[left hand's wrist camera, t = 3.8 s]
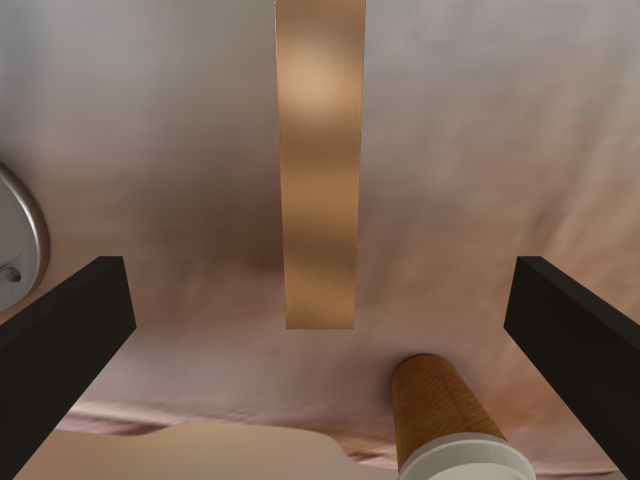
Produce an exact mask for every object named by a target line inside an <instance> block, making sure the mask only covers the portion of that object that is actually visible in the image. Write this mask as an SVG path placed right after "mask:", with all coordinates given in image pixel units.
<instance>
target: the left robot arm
mask: <svg viewBox="0 0 640 480" xmlns="http://www.w3.org/2000/svg"><path fill="white" fill-rule="evenodd" d="M48 260H49V239H48V233H47V228H46V225H45V222H44V219H43V216H42V214H41V212H40V209H39V207H38V206H37V204H36V202H35V200H34V199H33V197H32V196H31V194H30V192H29V191H28V190H27V188H26V187H25V186H24V185H23V183H22V182H21V181H20V180H19V179H18V178H17V177H16V175H15V174H14V173H13V172H12V171H10V170H9V169H8V168H7V167H6V166H5V165H4V164H3V163H1V162H0V312H3V311H5V310H7V309H9V308H10V307H12V306H13V305H15V304H16V303H18V302H19V301H21V300H22V299H24V298H25V297H27V296H28V295H29V294H30V293H32V292H33V291H34V289H35V288H36V287H37V286H38V284H39V283H40V282H41V280H42V278H43V276H44V274H45V271H46V268H47V265H48ZM136 328H137V327H136V322H135V317H134V312H133V307H132V302H131V297H130V292H129V287H128V282H127V276H126V271H125V266H124V261H123V256H99V257H98V258H96V259H95V260H94V261H92V262H91V263H89V264H88V265H86V266H85V267H83V268H82V269H81V270H79V271H78V272H76V273H75V274H73V275H72V276H71V277H69V278H68V279H66V280H65V281H63V282H62V283H60V284H59V285H58V286H56V287H55V288H53V289H52V290H50V291H49V292H48V293H46V294H45V295H43V296H42V297H40V298H39V299H37V300H36V301H35V302H33V303H32V304H30V305H29V306H27V307H26V308H25V309H23V310H22V311H20V312H19V313H17V314H16V315H15V316H13V317H12V318H10V319H9V320H7V321H6V322H4V323H3V324H2V325H0V480H12V479H13V478H14V477H15V476H16V475H17V473H18V472H19V471H20V470H21V468H22V467H23V466H24V465H25V464H26V462H27V461H28V460H29V459H30V457H31V456H32V455H33V454H34V453H35V451H36V450H37V449H38V448H39V446H40V445H41V444H42V443H43V442H44V440H45V439H46V438H47V437H48V435H49V434H50V433H51V432H52V431H53V429H54V428H55V427H56V426H57V424H58V423H59V422H60V421H61V419H62V418H63V417H64V416H65V415H66V413H67V412H68V411H69V410H70V408H71V407H72V406H73V405H74V404H75V402H76V401H77V400H78V399H79V397H80V396H81V395H82V394H83V393H84V391H85V390H86V389H87V388H88V386H89V385H90V384H91V383H92V382H93V380H94V379H95V378H96V377H97V375H98V374H99V373H100V372H101V370H102V369H103V368H104V367H105V366H106V364H107V363H108V362H109V361H110V359H111V358H112V357H113V356H114V355H115V353H116V352H117V351H118V350H119V348H120V347H121V346H122V345H123V344H124V342H125V341H126V340H127V339H128V337H129V336H130V335H131V334H132V333H133V331H134V330H135V329H136ZM503 328H504V329H505V330H506V331H507V333H508V334H509V335H510V336H511V337H512V339H513V340H514V341H515V342H516V344H517V345H518V346H519V347H520V348H521V350H522V351H523V352H524V353H525V355H526V356H527V357H528V358H529V359H530V361H531V362H532V363H533V364H534V366H535V367H536V368H537V369H538V370H539V372H540V373H541V374H542V375H543V377H544V378H545V379H546V380H547V382H548V383H549V384H550V385H551V386H552V388H553V389H554V390H555V391H556V393H557V394H558V395H559V396H560V397H561V399H562V400H563V401H564V402H565V404H566V405H567V406H568V407H569V408H570V410H571V411H572V412H573V413H574V415H575V416H576V417H577V418H578V419H579V421H580V422H581V423H582V424H583V426H584V427H585V428H586V429H587V431H588V432H589V433H590V434H591V435H592V437H593V438H594V439H595V440H596V442H597V443H598V444H599V445H600V446H601V448H602V449H603V450H604V451H605V453H606V454H607V455H608V456H609V457H610V459H611V460H612V461H613V462H614V464H615V465H616V466H617V467H618V468H619V470H620V471H621V472H622V473H623V475H624V476H625V477H626V478H627V480H640V325H638V324H637V323H636V322H634V321H633V320H631V319H630V318H628V317H627V316H625V315H624V314H623V313H621V312H620V311H618V310H617V309H615V308H614V307H613V306H611V305H610V304H608V303H607V302H605V301H604V300H603V299H601V298H600V297H598V296H597V295H595V294H594V293H592V292H591V291H590V290H588V289H587V288H585V287H584V286H582V285H581V284H580V283H578V282H577V281H575V280H574V279H572V278H571V277H569V276H568V275H567V274H565V273H564V272H562V271H561V270H559V269H558V268H557V267H555V266H554V265H552V264H551V263H549V262H548V261H546V260H545V259H544V258H542V257H541V256H517V261H516V266H515V271H514V276H513V282H512V287H511V292H510V297H509V302H508V307H507V312H506V317H505V322H504V327H503Z"/></svg>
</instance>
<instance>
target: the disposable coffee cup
mask: <svg viewBox="0 0 640 480" xmlns="http://www.w3.org/2000/svg"><path fill="white" fill-rule="evenodd" d="M391 387H392V397H393V409H394V423H395V436H396V448H397V459H398V472H399V475H398V480H536V476H535V472H534V470H533V468H532V466H531V464H530V462H529V461H528V459H527V458H526V457H525V456H524V455H523V454H522V453H521V452H520V451H519V450H517V449H515V448H514V447H513V446H512V445H511V444H509V443H508V441H507V440H506V438H505V437H504V436H503V434H502V433H501V431H500V430H498V427H497V426H496V425H495V423H494V422H493V420H492V419H491V418H490V417H489V415H488V414H487V412H485V409H484V408H483V407H482V406H481V404H480V403H479V401H477V398H476V397H475V396H474V395H473V393H472V392H471V391H470V389H469V388H468V386H466V383H465V382H464V381H463V379H462V378H461V377H460V375H459V374H458V372H457V371H456V370H455V368H454V367H453V365H452V364H451V363H450V362H448V361H447V360H445V359H443V358H441V357H438V356H434V355H422V356H417V357H413V358H411V359H409V360H407V361H405V362H404V363H403V364H401V365H400V366H399V367H398V368H397V370H396V371H395V373H394V375H393V378H392V382H391Z"/></svg>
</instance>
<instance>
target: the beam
mask: <svg viewBox="0 0 640 480" xmlns="http://www.w3.org/2000/svg"><path fill="white" fill-rule="evenodd" d="M274 5H275V33H276V60H277V88H278V115H279V143H280V170H281V198H282V225H283V253H284V280H285V307H286V328H287V329H354V310H355V282H356V255H357V227H358V200H359V172H360V145H361V118H362V90H363V63H364V35H365V8H366V0H274Z"/></svg>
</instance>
